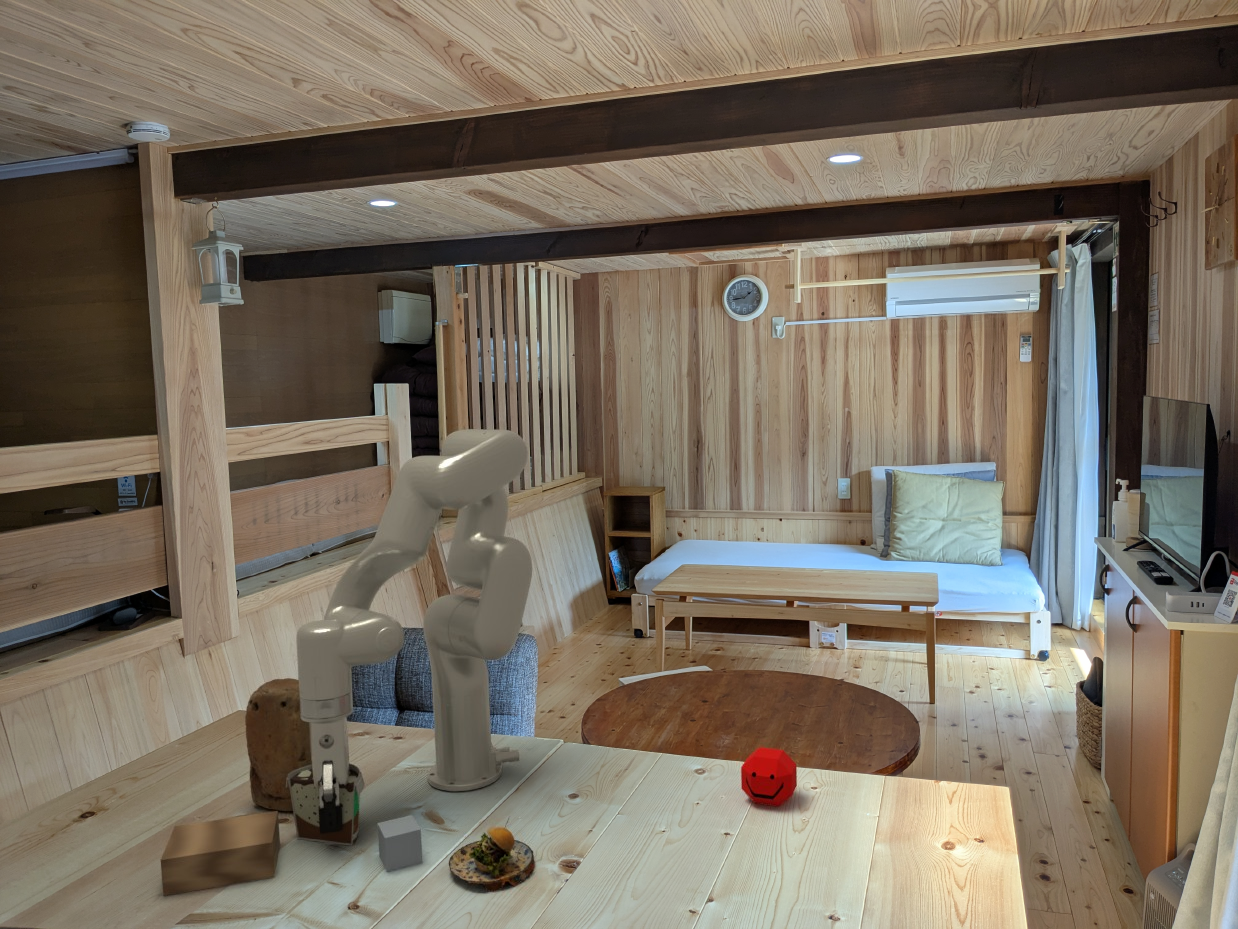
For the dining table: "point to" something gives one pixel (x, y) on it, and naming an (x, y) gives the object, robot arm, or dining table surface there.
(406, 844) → the slate cube
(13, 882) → the dining table surface
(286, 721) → the brown lumpy post
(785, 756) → the ball
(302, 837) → the food container
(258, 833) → the plinth
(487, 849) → the burger
